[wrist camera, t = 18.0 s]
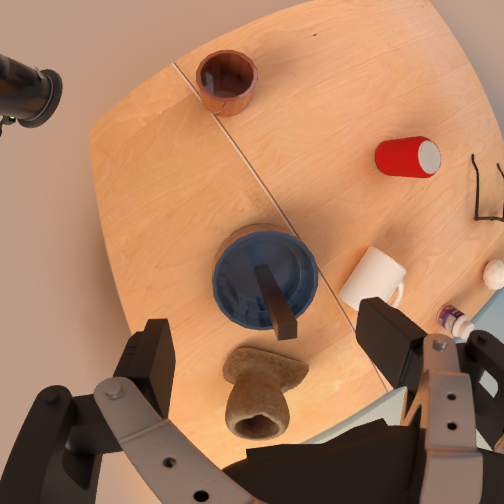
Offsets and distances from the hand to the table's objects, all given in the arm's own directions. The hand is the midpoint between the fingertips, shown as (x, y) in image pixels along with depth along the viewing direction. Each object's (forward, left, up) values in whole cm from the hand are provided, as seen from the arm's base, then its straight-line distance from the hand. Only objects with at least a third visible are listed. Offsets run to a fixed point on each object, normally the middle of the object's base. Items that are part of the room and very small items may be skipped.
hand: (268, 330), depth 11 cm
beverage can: (+27, +9, -33) cm, 43 cm away
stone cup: (+3, -30, -33) cm, 44 cm away
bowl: (+4, -9, -32) cm, 34 cm away
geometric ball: (+64, -16, -33) cm, 74 cm away
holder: (0, +19, -32) cm, 38 cm away
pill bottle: (+48, -25, -33) cm, 63 cm away
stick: (+4, -9, -32) cm, 33 cm away
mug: (+24, -13, -33) cm, 43 cm away
